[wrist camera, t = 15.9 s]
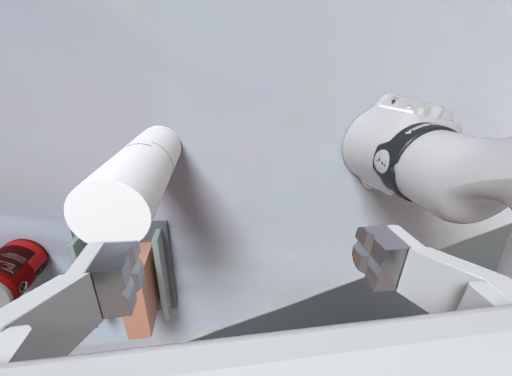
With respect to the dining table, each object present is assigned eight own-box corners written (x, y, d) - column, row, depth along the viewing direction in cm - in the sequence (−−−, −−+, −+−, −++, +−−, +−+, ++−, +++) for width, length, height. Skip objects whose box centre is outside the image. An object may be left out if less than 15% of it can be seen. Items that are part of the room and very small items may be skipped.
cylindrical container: (140, 121, 44) (62, 172, 21) (183, 130, 46) (154, 186, 23) (137, 162, 47) (65, 245, 24) (179, 168, 48) (148, 252, 26)
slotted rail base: (166, 220, 52) (162, 235, 47) (177, 303, 61) (174, 323, 56) (73, 225, 50) (58, 241, 45) (98, 311, 58) (87, 332, 54)
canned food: (22, 276, 52) (-23, 324, 42) (-7, 245, 49) (-63, 290, 39) (59, 263, 52) (22, 308, 42) (32, 232, 49) (-14, 272, 39)
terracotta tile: (152, 241, 52) (139, 277, 43) (161, 295, 58) (151, 337, 48) (131, 243, 51) (113, 279, 42) (142, 297, 57) (128, 339, 48)
